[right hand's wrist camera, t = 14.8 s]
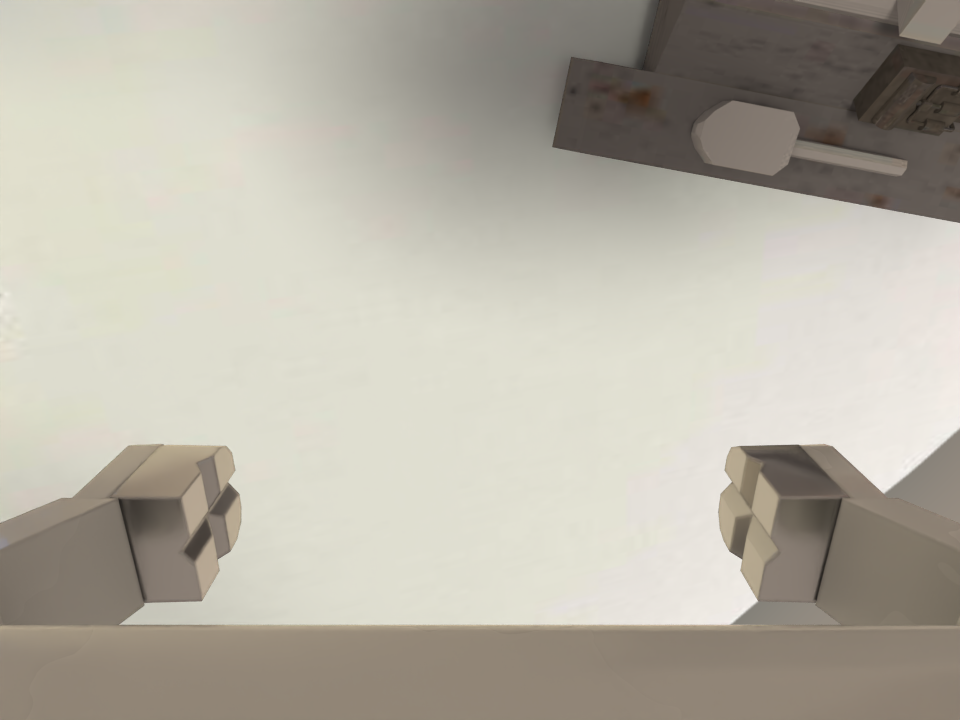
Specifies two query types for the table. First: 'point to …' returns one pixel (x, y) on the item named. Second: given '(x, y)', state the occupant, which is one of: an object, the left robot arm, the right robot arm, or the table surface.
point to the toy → (787, 99)
